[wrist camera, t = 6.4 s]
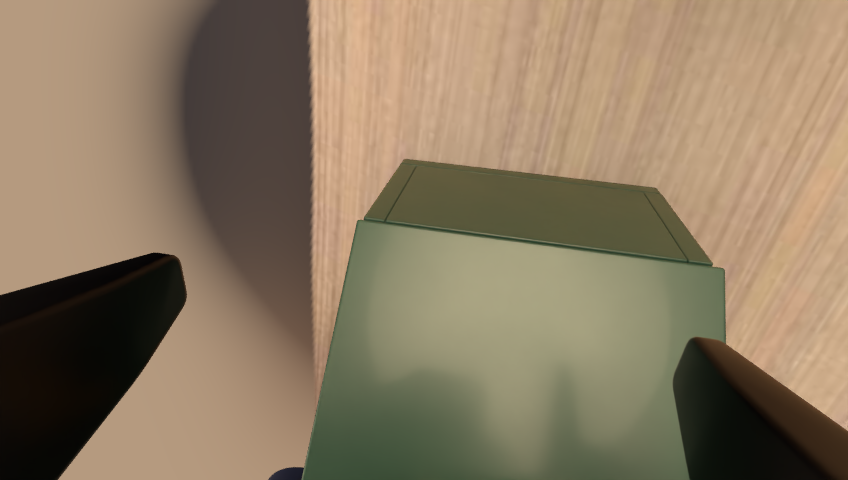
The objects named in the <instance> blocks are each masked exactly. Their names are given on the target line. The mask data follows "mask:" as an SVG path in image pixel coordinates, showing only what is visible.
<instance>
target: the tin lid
mask: <svg viewBox="0 0 848 480" xmlns="http://www.w3.org/2000/svg"><path fill="white" fill-rule="evenodd" d="M695 336H697V337H703V338H710V339H717V340H720V341H722V342H723V343H725V344H726V322H725V270H724V269H723V268H718V267H710V266H703V265H695V264H688V263H680V262H673V261H665V260H658V259H650V258H643V257H635V256H628V255H620V254H613V253H605V252H598V251H590V250H583V249H575V248H568V247H560V246H553V245H545V244H538V243H530V242H523V241H515V240H508V239H500V238H493V237H485V236H478V235H470V234H463V233H455V232H448V231H440V230H432V229H425V228H417V227H410V226H402V225H395V224H387V223H380V222H372V221H365V220H358V221H357V225H356V229H355V234H354V239H353V243H352V248H351V252H350V257H349V262H348V266H347V271H346V276H345V280H344V285H343V290H342V294H341V299H340V304H339V308H338V313H337V317H336V322H335V327H334V331H333V336H332V341H331V345H330V350H329V355H328V359H327V364H326V369H325V373H324V378H323V382H322V387H321V392H320V396H319V401H318V406H317V410H316V415H315V420H314V424H313V429H312V433H311V438H310V443H309V447H308V452H307V457H306V462H305V466H304V471H303V475H302V480H690V479H689V474H688V470H687V465H686V460H685V454H684V449H683V443H682V437H681V432H680V426H679V421H678V415H677V409H676V404H675V398H674V393H673V376H674V372H675V370H676V368H677V365H678V363H679V360H680V358H681V356H682V353H683V351H684V349H685V346H686V344H687V342H688V341H689V339H690V338H692V337H695Z"/></svg>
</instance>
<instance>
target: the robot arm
mask: <svg viewBox="0 0 848 480" xmlns="http://www.w3.org/2000/svg"><path fill="white" fill-rule="evenodd" d="M186 298H187V293H186V286H185V281H184V276H183V272H182V266H181V263H180V260H179V259H178V258H177V257H176V256H174V255H169V254H162V253H150V254H147V255H143V256H139V257H136V258H133V259H129V260H125V261H122V262H118V263H114V264H111V265H107V266H104V267H100V268H96V269H93V270H89V271H86V272H82V273H78V274H75V275H71V276H67V277H64V278H61V279H57V280H53V281H49V282H46V283H43V284H39V285H35V286H32V287H28V288H25V289H21V290H17V291H14V292H10V293H6V294H3V295H0V480H58V479H59V477H60V476H61V475H62V474H63V472H64V471H65V470H66V469H67V467H68V466H69V465H70V464H71V462H72V461H73V460H74V458H75V457H76V456H77V455H78V453H79V452H80V451H81V449H82V448H83V447H84V446H85V444H86V443H87V442H88V441H89V439H90V438H91V437H92V435H93V434H94V433H95V432H96V430H97V429H98V428H99V427H100V425H101V424H102V423H103V421H104V420H105V419H106V418H107V416H108V415H109V414H110V412H111V411H112V410H113V409H114V407H115V406H116V405H117V404H118V402H119V401H120V400H121V398H122V397H123V396H124V395H125V393H126V392H127V391H128V389H129V388H130V387H131V386H132V384H133V383H134V382H135V380H136V379H137V378H138V376H139V375H140V373H141V372H142V370H143V369H144V367H145V366H146V365H147V363H148V362H149V360H150V358H151V357H152V356H153V354H154V352H155V351H156V349H157V348H158V346H159V344H160V343H161V341H162V340H163V338H164V336H165V335H166V333H167V332H168V330H169V329H170V327H171V326H172V324H173V322H174V321H175V319H176V318H177V316H178V315H179V313H180V311H181V310H182V308H183V306H184V304H185V302H186ZM673 393H674V398H675V404H676V409H677V415H678V421H679V426H680V432H681V437H682V443H683V449H684V454H685V460H686V465H687V470H688V474H689V479H690V480H848V431H847V430H846V429H844V428H843V427H841V426H840V425H838V424H837V423H836V422H834V421H833V420H831V419H830V418H829V417H827V416H826V415H824V414H823V413H822V412H820V411H819V410H817V409H816V408H815V407H813V406H812V405H810V404H809V403H808V402H806V401H805V400H803V399H802V398H801V397H799V396H798V395H796V394H795V393H794V392H792V391H791V390H789V389H788V388H787V387H785V386H784V385H782V384H781V383H780V382H778V381H777V380H775V379H774V378H773V377H771V376H770V375H768V374H767V373H765V372H764V371H763V370H761V369H760V368H758V367H757V366H756V365H754V364H753V363H751V362H750V361H749V360H747V359H746V358H744V357H743V356H742V355H740V354H739V353H737V352H736V351H735V350H733V349H732V348H730V347H729V346H728V345H726V344H725V343H723V342H722V341H720V340H717V339H710V338H703V337H697V336H695V337H692V338H690V339H689V341H688V342H687V344H686V346H685V349H684V351H683V353H682V356H681V358H680V360H679V363H678V365H677V368H676V370H675V372H674V376H673Z"/></svg>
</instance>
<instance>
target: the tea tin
mask: <svg viewBox="0 0 848 480" xmlns="http://www.w3.org/2000/svg"><path fill="white" fill-rule="evenodd" d="M364 220H365V221H372V222H380V223H387V224H395V225H402V226H410V227H417V228H425V229H432V230H440V231H448V232H455V233H463V234H470V235H478V236H485V237H493V238H500V239H508V240H515V241H523V242H530V243H538V244H545V245H553V246H560V247H568V248H575V249H583V250H590V251H598V252H605V253H613V254H620V255H628V256H635V257H643V258H650V259H658V260H665V261H673V262H680V263H688V264H695V265H703V266H710V267H712V265H713V263H712V262H711V260H710V259H709V258H708V256H707V255H706V253H705V252H704V251H703V249H702V248H701V247H700V245H699V244H698V243H697V241H696V240H695V239H694V237H693V236H692V235H691V233H690V232H689V231H688V229H687V228H686V227H685V225H684V224H683V223H682V221H681V220H680V219H679V217H678V216H677V215H676V213H675V212H674V210H673V209H672V208H671V206H670V205H669V204H668V202H667V201H666V200H665V198H664V197H663V196H662V195H661V194H660V192H659V191H658V190H657V189H656V188H651V187H643V186H634V185H625V184H617V183H608V182H599V181H591V180H582V179H574V178H565V177H556V176H548V175H539V174H530V173H522V172H513V171H504V170H496V169H487V168H479V167H470V166H461V165H453V164H444V163H435V162H427V161H418V160H410V159H404V160H403V162H402V163H401V164H400V166H399V167H398V169H397V170H396V172H395V173H394V174H393V176H392V177H391V179H390V180H389V182H388V183H387V185H386V186H385V188H384V189H383V191H382V192H381V194H380V195H379V196H378V198H377V199H376V201H375V202H374V204H373V205H372V207H371V208H370V210H369V211H368V213H367V214H366V215H365V217H364Z"/></svg>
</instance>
